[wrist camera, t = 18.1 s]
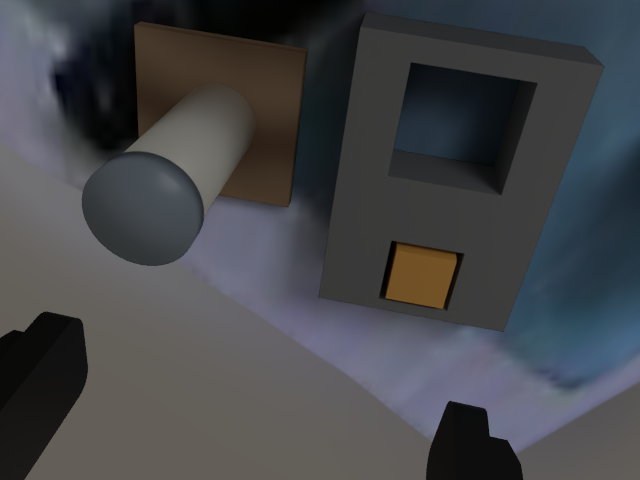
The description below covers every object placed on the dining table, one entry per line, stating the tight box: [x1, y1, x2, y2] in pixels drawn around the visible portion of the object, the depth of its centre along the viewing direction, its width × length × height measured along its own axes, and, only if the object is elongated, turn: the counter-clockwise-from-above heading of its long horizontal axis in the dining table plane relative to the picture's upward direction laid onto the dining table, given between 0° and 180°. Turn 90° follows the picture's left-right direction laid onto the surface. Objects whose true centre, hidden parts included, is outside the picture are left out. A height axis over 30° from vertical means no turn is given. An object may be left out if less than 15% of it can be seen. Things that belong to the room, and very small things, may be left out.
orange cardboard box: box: [386, 241, 457, 309], centre depth 38 cm, size 4×4×4 cm
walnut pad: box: [134, 22, 308, 207], centre depth 37 cm, size 10×10×1 cm
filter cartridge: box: [82, 84, 256, 266], centre depth 31 cm, size 5×5×12 cm
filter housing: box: [319, 12, 604, 332], centre depth 35 cm, size 17×12×4 cm
